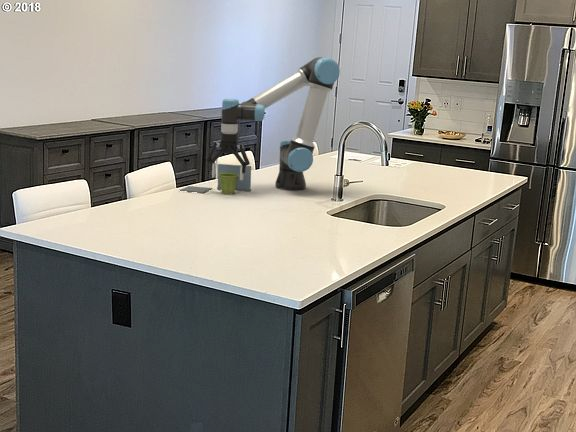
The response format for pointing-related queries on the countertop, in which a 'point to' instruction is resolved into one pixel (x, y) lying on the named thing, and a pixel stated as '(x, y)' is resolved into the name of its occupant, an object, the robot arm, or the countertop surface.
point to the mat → (196, 189)
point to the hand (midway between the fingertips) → (227, 178)
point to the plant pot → (228, 182)
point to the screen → (235, 169)
